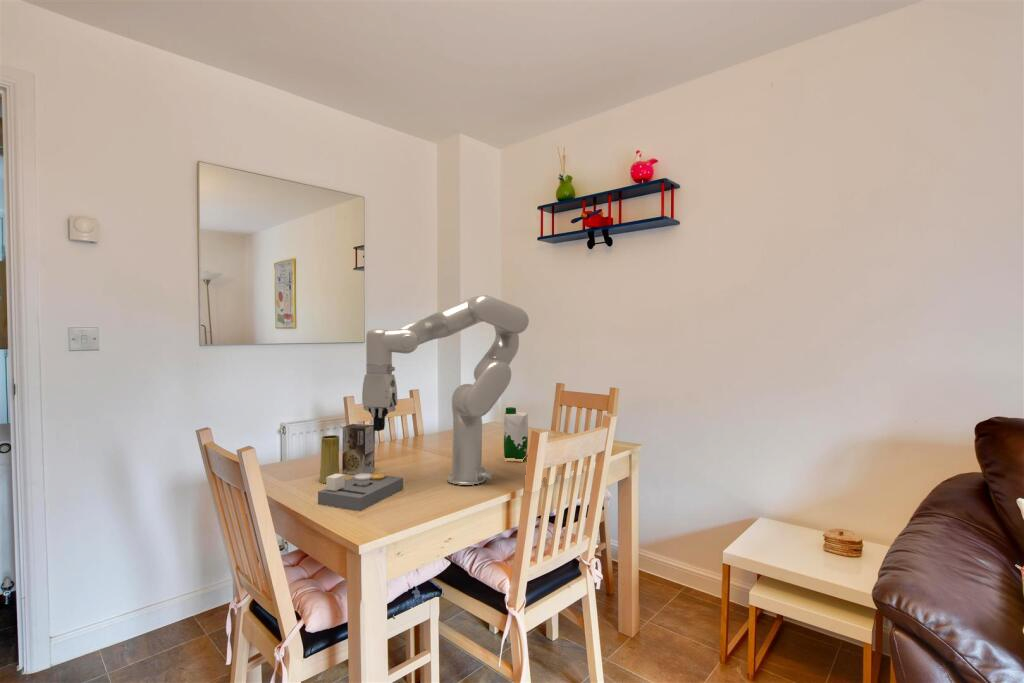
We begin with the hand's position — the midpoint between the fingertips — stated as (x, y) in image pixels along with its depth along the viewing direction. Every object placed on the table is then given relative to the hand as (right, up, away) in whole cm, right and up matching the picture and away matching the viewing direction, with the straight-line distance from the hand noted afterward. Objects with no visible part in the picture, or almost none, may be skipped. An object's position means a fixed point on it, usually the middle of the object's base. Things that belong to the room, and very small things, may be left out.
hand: (379, 430), depth 152 cm
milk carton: (+42, -19, +40) cm, 61 cm away
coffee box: (-12, -18, +18) cm, 29 cm away
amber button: (-1, -17, 0) cm, 17 cm away
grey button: (-3, -15, -7) cm, 17 cm away
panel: (-3, -18, -7) cm, 20 cm away
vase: (-18, -18, +8) cm, 27 cm away
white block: (-9, -17, -12) cm, 23 cm away
